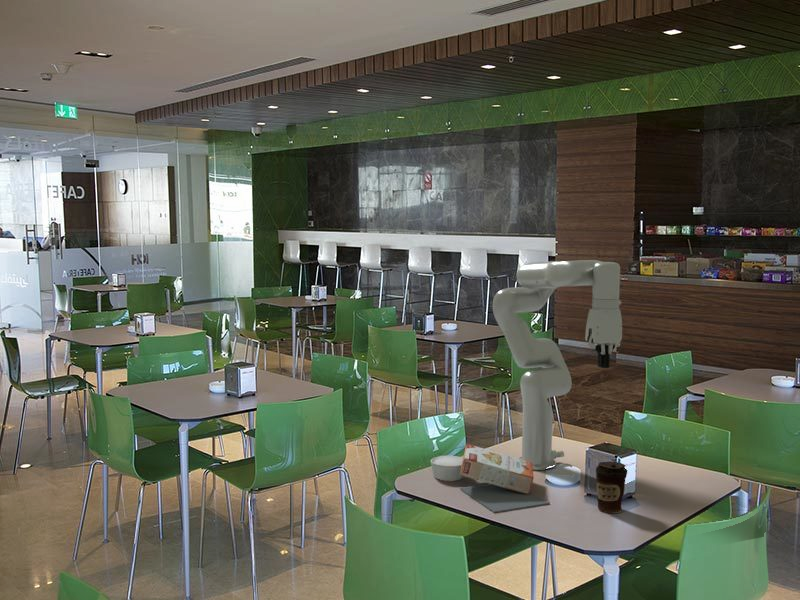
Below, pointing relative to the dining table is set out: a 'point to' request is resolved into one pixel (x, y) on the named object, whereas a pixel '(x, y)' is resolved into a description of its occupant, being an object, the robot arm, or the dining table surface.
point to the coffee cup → (610, 486)
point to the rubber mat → (503, 498)
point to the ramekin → (447, 467)
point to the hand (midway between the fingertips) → (603, 367)
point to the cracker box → (497, 469)
